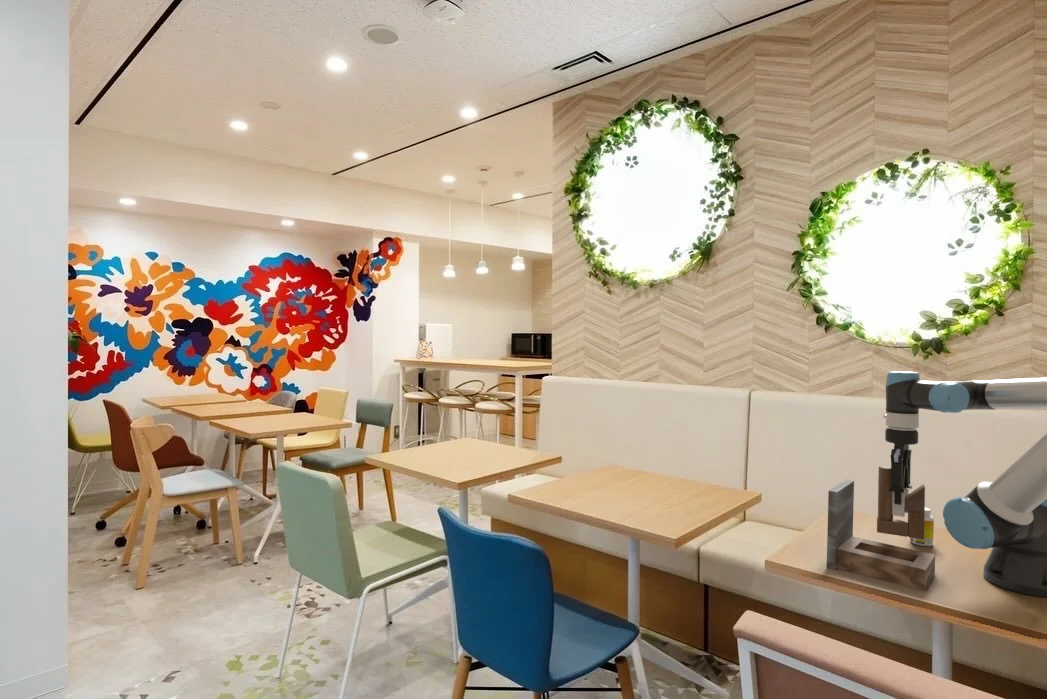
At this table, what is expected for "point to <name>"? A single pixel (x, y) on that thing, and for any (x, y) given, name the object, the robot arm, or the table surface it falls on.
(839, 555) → the post block
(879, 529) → the wooden block
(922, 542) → the supplement bottle
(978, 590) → the table surface
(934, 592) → the table surface
